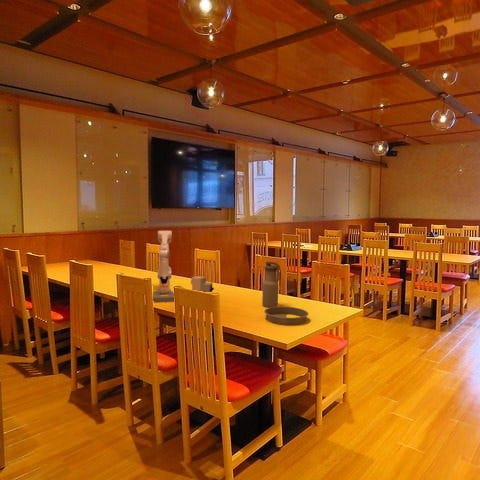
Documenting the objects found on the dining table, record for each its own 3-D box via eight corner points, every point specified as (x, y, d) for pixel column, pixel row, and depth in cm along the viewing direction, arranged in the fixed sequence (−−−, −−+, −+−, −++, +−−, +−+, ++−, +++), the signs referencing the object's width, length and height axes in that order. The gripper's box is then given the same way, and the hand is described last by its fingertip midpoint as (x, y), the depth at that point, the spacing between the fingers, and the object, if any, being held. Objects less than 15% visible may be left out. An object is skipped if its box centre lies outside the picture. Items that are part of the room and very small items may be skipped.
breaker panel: (150, 296, 272) (150, 288, 271) (177, 295, 276) (177, 287, 275) (150, 302, 254) (150, 294, 254) (178, 301, 258) (178, 293, 258)
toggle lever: (160, 292, 267) (160, 283, 264) (167, 292, 268) (167, 283, 265) (160, 294, 266) (160, 285, 262) (167, 294, 267) (168, 285, 263)
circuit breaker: (211, 301, 260) (212, 279, 258) (190, 300, 262) (190, 277, 261) (214, 299, 267) (215, 277, 266) (194, 298, 270) (194, 276, 268)
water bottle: (279, 304, 255) (280, 261, 253) (276, 308, 246) (278, 263, 244) (264, 303, 258) (265, 260, 256) (260, 307, 249) (261, 262, 246)
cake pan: (292, 329, 206) (292, 320, 205) (255, 319, 221) (255, 311, 221) (316, 319, 224) (316, 311, 224) (280, 311, 240) (280, 304, 240)
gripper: (157, 266, 274) (157, 285, 275) (158, 269, 259) (158, 290, 261) (168, 265, 275) (168, 285, 276) (169, 269, 261) (169, 289, 262)
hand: (164, 287), depth 269 cm, fingers closed
